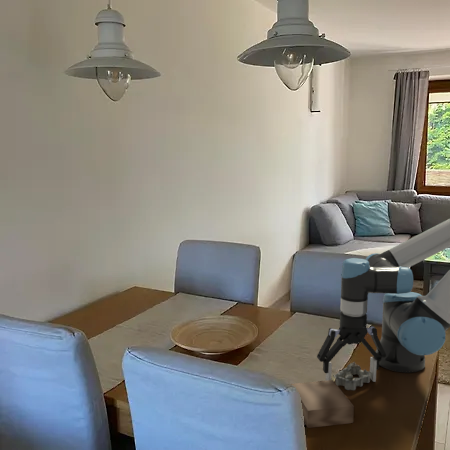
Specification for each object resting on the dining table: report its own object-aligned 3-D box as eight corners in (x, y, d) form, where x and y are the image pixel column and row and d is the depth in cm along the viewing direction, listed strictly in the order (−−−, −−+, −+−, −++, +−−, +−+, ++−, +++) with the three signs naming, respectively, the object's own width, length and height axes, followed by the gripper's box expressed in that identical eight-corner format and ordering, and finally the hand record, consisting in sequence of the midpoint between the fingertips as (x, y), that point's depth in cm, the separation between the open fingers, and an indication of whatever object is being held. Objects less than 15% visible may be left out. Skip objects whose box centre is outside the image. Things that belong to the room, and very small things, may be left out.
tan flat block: (332, 396, 142) (332, 379, 141) (353, 424, 128) (353, 405, 127) (290, 400, 140) (291, 383, 139) (307, 429, 126) (308, 410, 125)
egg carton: (354, 373, 155) (354, 360, 155) (374, 382, 149) (375, 369, 149) (330, 383, 149) (330, 369, 149) (350, 393, 143) (350, 379, 143)
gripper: (388, 305, 151) (385, 372, 155) (307, 310, 148) (305, 377, 151) (400, 314, 144) (396, 384, 147) (315, 319, 140) (313, 390, 144)
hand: (350, 381), depth 149 cm, fingers open, 13 cm apart
